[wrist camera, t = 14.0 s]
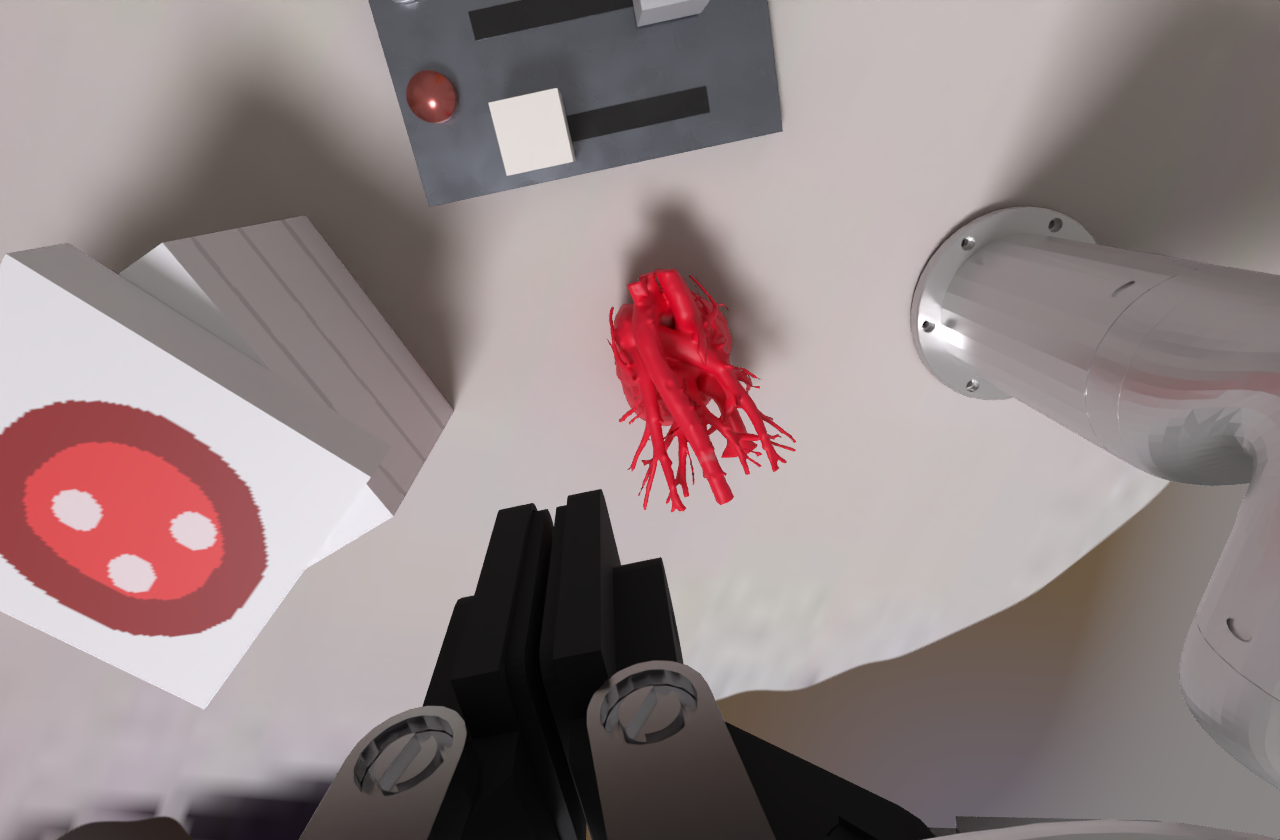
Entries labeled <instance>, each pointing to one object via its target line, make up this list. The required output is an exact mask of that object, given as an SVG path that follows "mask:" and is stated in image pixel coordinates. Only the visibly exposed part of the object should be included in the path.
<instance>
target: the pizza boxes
mask: <svg viewBox="0 0 1280 840" xmlns="http://www.w3.org/2000/svg"><path fill="white" fill-rule="evenodd" d="M453 412H454V410H453V409H452V408H451V406H450V405H449V404H448V402H447V401H446V400H445V398H444V397H443V396H442V394H441V393H440V392H439V390H438V389H437V388H436V386H435V385H434V384H433V383H432V381H431V380H430V379H429V377H428V376H427V375H426V373H425V372H424V371H423V369H422V368H421V367H420V365H419V364H418V363H417V361H416V360H415V359H414V357H413V356H412V355H411V354H410V352H409V351H408V350H407V348H406V347H405V346H404V344H403V343H402V342H401V340H400V339H399V338H398V336H397V335H396V334H395V332H394V331H393V330H392V328H391V327H390V326H389V325H388V323H387V322H386V321H385V319H384V318H383V317H382V315H381V314H380V313H379V311H378V310H377V309H376V307H375V306H374V305H373V303H372V302H371V301H370V299H369V298H368V297H367V295H366V294H365V293H364V292H363V290H362V289H361V288H360V286H359V285H358V284H357V282H356V281H355V280H354V278H353V277H352V276H351V274H350V273H349V272H348V270H347V269H346V268H345V266H344V265H343V264H342V263H341V261H340V260H339V259H338V257H337V256H336V255H335V253H334V252H333V251H332V249H331V248H330V247H329V245H328V244H327V243H326V241H325V240H324V239H323V237H322V236H321V235H320V234H319V232H318V231H317V230H316V228H315V227H314V226H313V224H312V223H311V222H310V220H309V219H308V218H307V216H306V215H303V216H298V217H293V218H288V219H283V220H277V221H272V222H267V223H262V224H257V225H251V226H246V227H241V228H236V229H231V230H225V231H220V232H215V233H210V234H205V235H199V236H194V237H189V238H184V239H179V240H173V241H168V242H163V243H161V244H160V245H158V246H157V247H155V248H154V249H153V250H151V251H150V252H148V253H147V254H145V255H144V256H143V257H141V258H140V259H138V260H137V261H136V262H134V263H133V264H131V265H130V266H128V267H127V268H126V269H124V270H123V271H121V272H120V273H119V274H116V273H115V272H113V271H112V270H110V269H108V268H107V267H105V266H104V265H102V264H101V263H99V262H97V261H96V260H94V259H93V258H91V257H89V256H88V255H86V254H85V253H83V252H81V251H80V250H78V249H77V248H75V247H74V246H72V245H70V244H69V243H65V244H60V245H54V246H48V247H42V248H36V249H30V250H25V251H19V252H13V253H7V254H5V256H4V258H3V260H2V262H1V265H0V611H1V612H3V613H5V614H7V615H9V616H11V617H13V618H16V619H18V620H20V621H22V622H24V623H26V624H28V625H30V626H32V627H34V628H36V629H38V630H40V631H43V632H45V633H47V634H49V635H51V636H53V637H55V638H57V639H59V640H61V641H63V642H65V643H67V644H70V645H72V646H74V647H76V648H78V649H80V650H82V651H84V652H86V653H88V654H90V655H92V656H94V657H96V658H99V659H101V660H103V661H105V662H107V663H109V664H111V665H113V666H115V667H117V668H119V669H121V670H123V671H126V672H128V673H130V674H132V675H134V676H136V677H138V678H140V679H142V680H144V681H146V682H148V683H150V684H153V685H155V686H157V687H159V688H161V689H163V690H165V691H167V692H169V693H171V694H173V695H175V696H177V697H179V698H182V699H184V700H186V701H188V702H190V703H192V704H194V705H196V706H198V707H200V708H202V709H204V710H205V708H206V707H207V705H208V704H209V703H210V701H211V700H212V698H213V697H214V696H215V694H216V693H217V691H218V690H219V689H220V687H221V686H222V684H223V683H224V682H225V680H226V679H227V677H228V676H229V675H230V673H231V672H232V670H233V669H234V668H235V666H236V665H237V663H238V662H239V661H240V659H241V658H242V656H243V655H244V654H245V652H246V651H247V650H248V648H249V647H250V645H251V644H252V643H253V641H254V640H255V638H256V637H257V636H258V634H259V633H260V631H261V630H262V629H263V627H264V626H265V624H266V623H267V622H268V620H269V619H270V617H271V616H272V615H273V613H274V612H275V610H276V609H277V608H278V606H279V605H280V603H281V602H282V601H283V599H284V598H285V596H286V595H287V594H288V592H289V591H290V589H291V588H292V587H293V585H294V584H295V583H296V581H297V580H298V578H299V577H300V576H301V574H302V573H303V571H304V570H305V569H306V568H308V567H310V566H311V565H313V564H315V563H316V562H318V561H320V560H321V559H323V558H325V557H326V556H328V555H330V554H331V553H333V552H335V551H336V550H338V549H340V548H341V547H343V546H345V545H346V544H348V543H350V542H351V541H353V540H355V539H356V538H358V537H360V536H361V535H363V534H365V533H366V532H368V531H370V530H371V529H373V528H375V527H376V526H378V525H380V524H381V523H383V522H385V521H386V520H388V519H390V518H391V517H393V516H394V515H395V513H396V511H397V509H398V508H399V506H400V504H401V502H402V501H403V499H404V497H405V495H406V494H407V492H408V490H409V488H410V487H411V485H412V483H413V482H414V480H415V478H416V476H417V475H418V473H419V471H420V469H421V468H422V466H423V464H424V462H425V461H426V459H427V457H428V455H429V454H430V452H431V450H432V448H433V447H434V445H435V443H436V442H437V440H438V438H439V436H440V435H441V433H442V431H443V429H444V428H445V426H446V424H447V422H448V421H449V419H450V417H451V415H452V414H453Z"/></svg>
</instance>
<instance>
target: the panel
mask: <svg viewBox="0 0 1280 840" xmlns="http://www.w3.org/2000/svg"><path fill="white" fill-rule="evenodd" d="M369 4H370V7H371V11H372V14H373V17H374V21H375V24H376V28H377V31H378V34H379V38H380V41H381V44H382V48H383V51H384V55H385V58H386V61H387V65H388V68H389V72H390V75H391V78H392V82H393V85H394V88H395V92H396V95H397V99H398V102H399V105H400V109H401V112H402V116H403V119H404V122H405V126H406V129H407V133H408V136H409V139H410V143H411V146H412V149H413V153H414V156H415V160H416V163H417V166H418V170H419V173H420V177H421V180H422V183H423V187H424V190H425V193H426V197H427V200H428V204H429V207H431V206H435V205H440V204H445V203H449V202H454V201H459V200H463V199H468V198H473V197H477V196H482V195H487V194H491V193H496V192H501V191H506V190H510V189H515V188H520V187H524V186H529V185H534V184H538V183H543V182H548V181H552V180H557V179H562V178H566V177H571V176H576V175H580V174H585V173H590V172H594V171H599V170H604V169H608V168H613V167H618V166H622V165H627V164H632V163H636V162H641V161H646V160H650V159H655V158H660V157H664V156H669V155H674V154H678V153H683V152H688V151H692V150H697V149H702V148H706V147H711V146H716V145H720V144H725V143H730V142H734V141H739V140H744V139H748V138H753V137H758V136H762V135H767V134H772V133H776V132H781V131H783V130H782V121H781V113H780V104H779V96H778V87H777V79H776V70H775V62H774V53H773V45H772V36H771V28H770V19H769V11H768V2H767V0H710V1H709V2H708V4H707V5H706V6H705V8H704V9H703V11H702V12H701V13H699V14H694V15H690V16H685V17H681V18H676V19H671V20H667V21H662V22H658V23H653V24H649V25H644V26H639V27H637V22H636V16H635V11H634V5H633V0H369ZM554 88H558V90H559V92H560V93H561V95H562V99H563V104H564V108H565V113H566V118H567V122H568V127H569V131H570V136H571V140H572V145H573V150H574V154H575V159H576V161H575V162H570V163H566V164H561V165H556V166H552V167H547V168H542V169H538V170H533V171H528V172H524V173H519V174H514V175H509V176H507V175H506V171H505V167H504V163H503V159H502V155H501V151H500V147H499V143H498V139H497V135H496V131H495V127H494V123H493V119H492V116H491V112H490V108H489V104H488V103H489V102H494V101H499V100H503V99H508V98H512V97H517V96H522V95H526V94H531V93H536V92H540V91H545V90H549V89H554Z"/></svg>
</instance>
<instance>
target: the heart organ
mask: <svg viewBox="0 0 1280 840" xmlns="http://www.w3.org/2000/svg"><path fill="white" fill-rule="evenodd" d="M655 275H656V277H657V278H658V280H659V283H660V284H658V283H657V281H656V279H655ZM689 277H690V278H691V279H693V281H695V282H696V283H697V285H698V286H699V287H700V288H701V289H702V291H704V293H705V294H706V295H707V296H708V298H709V299H710V301H711V302H712V303H710V302H709V301H707V300H705V299H704V298H702V297H700V295H699V294H698V295H699V296H698V295H696V294H695V293H694V292H693V291H691V290H690V289H689V288H688V286H687V284H686V283H685V281H684V279H683V278H682V276H681V275H680V274H679V272H678V271H677V269H655V270H653V272H647V273H644V274H642V275H640V276H639V281H635V282H631V283H629V284H627V287H628V289H629V292H630V295H631V296H632V298H633V303H634V304H623V305H622V306H621V308H620V310H619V312H618V313H617V315H616V317H615V320H614V325H613V321H612V314H613V309H614V307H612V308H611V310H610V314H609V322H610V326H611V336H612V346H611V347H612V349H613V352H614V357H615V364H616V373H617V376H618V378H619V379H620V381H621V383H622V386H623V391H624V394H625V396H626V399H627V401H628V404H629V405H630V407H631V408H632V409H631V410H629V411H628V412H627V413H626V414H624V415H623V417H622V418H621V419H619V422H622V421H625V419H626V418H627V417H628V416H629V415H631V414H632V413H633V412H635V413H636V414H637V416H636V417H634V418H633V419H632V420H631V421H630V422H629V424H631V422H632V423H633V422H634V420H635V419H636V418H639V417H640V418H641V419H643V420H644V421H646V427H645V431H644V434H643V438H642V440H641V443H640V445H639V447H638V450H637V451H636V454H635V456H634V459H633V462H632V464H631V467H630V468H631V469H632V471H633V470H634V469H635V466H636V462H637V459H638V457H639V455H640V453H641V451H642V450H643V448H644V447H645V445H646V443H647V441H648V440H650V439H649V436H650V435H651V440H652V444H653V458H652V459H651V460H647V461H645V460H642V462H643V463H644V465H646V464H649V469H648V471H647V473H646V476H645V479H644V481H643V484H642V488H641V490H642V489H643V486H644V485H645V483H646V481H647V479H648V477H649V479H648V483H647V486H646V494H645V499H644V504H643V507H644V510H646V506H647V502H648V497H649V492H650V490H651V486H652V482H653V478H654V475H655V471H656V466H657V461H658V460H660V462H661V465H662V468H663V471H664V474H665V477H666V480H667V483H668V486H669V490H670V493H669V496H668V498H667V501H666V503H669V501H670V498H671V501H672V509H671V512H673V511H675V509H678V510H679V511H684V510H685V509H686V507H685V506H684V505H683V504H682V502H681V500H680V498H679V495H678V494H677V489H676V486H677V485H678V484H681V486H682V489H683V494H684V497H688V496H689V492H688V487H687V483H686V457H687V454H688V455H689V451H688V447H687V442H689V443H690V445H691V447H692V449H693V451H694V452H695V455H696V456H697V458H698V461H699V463H700V465H701V467H702V469H703V470H702V471H703V477H704V478H707V480H708V482H709V484H710V487H711V489H712V492H713V494H714V496H715V499H716V502H717V503H719V504H720V505H722V504H724V503H727V502H729V501H731V500H732V499H733V497H734V496H733V494H732V492H731V489H730V487H729V485H728V484H727V482H726V479H725V477H724V475H725V476H726V473H725V472H723V470H722V469H721V467H720V465H719V463H718V460H717V457H716V455H715V452H714V447H713V445H712V442H711V441H710V439H709V436H708V435H710V434H712V433H713V432H714V431H715V430H716V429H717V430H718V431H719V432H720V433H721V434H722V435H723V436H724V437H725V438H726V439H727V446H726V448H725V450H724V452H723V455H722V458H724V457H725V458H726V457H728V458H729V457H737V456H738V457H739V459H740V462H741V464H742V466H743V468H744V471H745V474H747V475H748V474H750V472H749V468H748V465H747V462H746V459H749V460H750V461H752V462H753V463H754V464H756V465H757V466H759V467H761V465H760V464H759V463H757V462H755V461H754V460H752V459H751V458H749V457H748V456H747V454H748V453H749V452H753V453H755V454H756V455H757V456H759V455H762V454H761V453H760V452H754V451H752V450H753V449H755V448H756V447H757V444H755V443H754V442H752V441H758V440H761V443H762V448H763V449H764V450H765V451H766V453H767V456H768V458H769V460H770V463H771V466H772V470H773V472H775V471H776V470H778V469H779V467H778V465H777V460H780V461H781V462H783V463H786V461H785V459H783V458H781V457H780V456H779V455H778V454H777V453H776V451H775V449H774V447H773V446H772V444H773V445H775V446H779V447H782V448H784V449H788V450H791V451H796V450H795V449H793V448H790V447H788V446H784V445H780V444H778V443H775V442H772V441H770V439H775V438H776V437H781V436H779V435H778V434H777V435H774V436H771V435H769V434H767V431H766V428H765V426H764V423H763V420H764V421H766V422H768V423H769V424H771V425H772V426H773V427H775V428H776V429H778V430H779V431H780V432H781V433H783V434H785V435H787V436H788V437H789V438H790V439H792V440H793V442H794V443H795V442H796V441H795V440H794V439H793V437H792V436H791V435H790V434H788V433H787V432H786V431H784V430H783V429H782V428H781V427H779V426H778V425H777V424H775V423H774V422H773V421H771V420H773V418H771V417H768V416H765V415H764V414H763V413H761V412H760V411H759V410H758V409H757V407H756V405H755V403H754V402H753V400H752V399H751V397H750V396H749V395H748V390H750V387H755V388H760V386H752V382H751V378H750V376H749V375H751V376H752V377H753V378H757V377H756V376H755V375H754V374H752V373H751V372H749V371H748V370H746V369H744V368H742V367H740V368H738V367H734V366H733V365H731V364H730V362H729V355H730V352H731V346H732V337H731V334H730V331H729V328H728V323H727V321H726V318H725V317H724V315H723V314H722V313H721V312H720V311H719V310H718V308H719V306H725V305H724V304H723V303H720V304H717V303H716V302H715V301H714V299H713V298H712V297H711V296H710V294H709V293H708V292H707V291H706V290H705V289H704V288H703V287H702V286H701V285H700V284H699V282H698V281H697V280H696V279H694V278H693V277H692V276H690V275H689ZM660 285H661V286H660ZM695 286H696V285H695ZM697 293H698V292H697ZM725 307H726V306H725ZM726 308H727V307H726ZM727 310H728V309H727ZM607 340H608V339H607ZM608 342H609V341H608ZM615 342H616V344H615ZM609 344H610V345H611V343H610V342H609ZM741 369H742V371H740V370H741ZM747 375H748V376H749V378H748V377H747ZM758 379H759V378H758ZM738 380H739V381H743V382H744V383H745V384H746V385H747V387H746V390H745V389H744V388H743V386H742V385H741V384H740V383H739V381H738ZM711 399H713V400H714V401H715V402H716V404H717V405H718V407H719V410H720V412H721V416H720V418H717V417H716V416H714V415H713V414H712V413H711V412H710V411H709V410H708V409H707V407H706V405H707V404H708V403H709V402H710V400H711ZM737 408H742V409H743V410H744V411H745V412H746V413H747V415H748V416H749V418H750V420H751V421H752V423H753V425H754V427H755V430H756V432H757V434H758V435H755V434H749V433H747V431H746V428H745V425H744V423H743V421H742V419H741V417H740V415H739V412H738V410H737ZM770 419H771V420H770ZM707 424H710V425H712V426H711V428H710V429H709V430H707V426H706V425H707ZM661 425H663V426H669V425H672V426H671V428H670V430H669V432H668V433H667V436H666V437H664V438H663V435H662V427H661ZM675 436H677V437H678V442H679V452H678V455H679V467H678V471H677V476H676V479H675V478H674V475H673V470H672V468H671V465H672V461H671V460H670V459H669V457H668V455H667V452H666V451H667V449H668V447H669V446H670V444H671V442H672V440H673V438H674V437H675ZM664 439H665V441H664ZM689 458H690V455H689ZM690 465H691V468H692V475H693V485H694V472H693V466H692V461H691V458H690ZM630 468H629V469H630ZM629 469H627V470H629ZM649 474H650V476H649ZM640 492H641V491H640ZM639 495H640V493H639ZM639 495H638V496H639Z"/></svg>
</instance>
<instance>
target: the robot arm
mask: <svg viewBox="0 0 1280 840" xmlns="http://www.w3.org/2000/svg"><path fill="white" fill-rule="evenodd" d="M1049 223H1050V225H1049ZM1048 226H1049V227H1048ZM963 239H964V240H965V242H964V244H963V245H962V246H961V243H962V241H963ZM925 321H926V324H925V325H924V326H923V327H922V324H923V323H924V322H925ZM911 331H912V336H913V341H914V345H915V348H916V350H917V352H918V355H919V357H920V359H921V361H922V363H923V364H924V365H925V367H926V368H927V369H928V371H929V372H930V373H931V374H932V375H933V376H934V377H935V378H937V379H938V380H939V381H940V382H941V383H943V384H944V385H946V386H947V387H949V388H951V389H952V390H954V391H955V392H958V393H960V394H962V395H965V396H967V397H971V398H977V399H983V400H1005V399H1010V398H1015V399H1017V400H1019V401H1021V402H1022V403H1024V404H1026V405H1027V406H1029V407H1031V408H1033V409H1034V410H1036V411H1038V412H1040V413H1041V414H1043V415H1045V416H1047V417H1048V418H1050V419H1052V420H1053V421H1055V422H1057V423H1059V424H1060V425H1062V426H1064V427H1066V428H1067V429H1069V430H1071V431H1073V432H1074V433H1076V434H1078V435H1079V436H1081V437H1083V438H1085V439H1086V440H1088V441H1090V442H1092V443H1093V444H1095V445H1097V446H1099V447H1100V448H1102V449H1104V450H1105V451H1107V452H1109V453H1111V454H1112V455H1114V456H1116V457H1118V458H1119V459H1122V460H1123V461H1125V462H1127V463H1129V464H1130V465H1132V466H1134V467H1136V468H1138V469H1140V470H1142V471H1144V472H1146V473H1148V474H1151V475H1153V476H1156V477H1159V478H1162V479H1166V480H1169V481H1173V482H1177V483H1185V484H1193V485H1203V486H1219V485H1237V484H1246V483H1250V484H1249V487H1248V490H1247V492H1246V495H1245V497H1244V499H1243V502H1242V504H1241V507H1240V509H1239V511H1238V514H1237V521H1236V523H1235V525H1234V527H1233V530H1232V532H1231V534H1230V536H1229V539H1228V541H1227V543H1226V546H1225V548H1224V550H1223V553H1222V555H1221V557H1220V559H1219V561H1218V564H1217V566H1216V568H1215V571H1214V573H1213V575H1212V577H1211V579H1210V582H1209V584H1208V586H1207V589H1206V591H1205V593H1204V595H1203V598H1202V600H1201V602H1200V604H1199V607H1198V609H1197V613H1196V615H1195V618H1194V620H1193V622H1192V625H1191V627H1190V629H1189V632H1188V635H1187V637H1186V640H1185V643H1184V646H1183V649H1182V653H1181V658H1180V665H1179V680H1180V687H1181V692H1182V695H1183V697H1184V700H1185V702H1186V704H1187V707H1188V709H1189V711H1190V712H1191V714H1192V715H1193V716H1194V718H1195V719H1196V721H1197V722H1198V724H1199V725H1200V726H1201V728H1202V729H1203V730H1204V731H1205V732H1206V733H1207V734H1208V735H1209V736H1210V737H1211V738H1212V739H1213V740H1214V741H1215V743H1216V744H1217V745H1219V746H1220V747H1221V748H1222V749H1224V751H1226V752H1227V753H1228V754H1229V755H1230V756H1231V757H1233V758H1234V759H1235V760H1236V761H1237V762H1239V763H1240V764H1241V765H1243V766H1244V767H1246V768H1247V769H1248V770H1250V771H1251V772H1252V773H1254V774H1255V775H1256V776H1258V777H1259V778H1261V779H1263V780H1264V781H1266V782H1267V783H1269V784H1270V785H1272V786H1273V787H1275V788H1276V789H1278V790H1279V791H1280V275H1274V274H1269V273H1263V272H1257V271H1251V270H1245V269H1239V268H1233V267H1225V266H1219V265H1213V264H1207V263H1202V262H1196V261H1190V260H1184V259H1178V258H1173V257H1167V256H1161V255H1155V254H1150V253H1144V252H1138V251H1132V250H1126V249H1121V248H1115V247H1109V246H1103V245H1098V244H1097V243H1096V241H1095V239H1094V238H1093V236H1092V235H1091V234H1090V233H1089V232H1088V231H1087V230H1086V229H1085V228H1084V227H1083V226H1082V225H1081V224H1080V223H1079V222H1077V221H1076V220H1074V219H1072V218H1071V217H1069V216H1067V215H1066V214H1063V213H1060V212H1057V211H1054V210H1051V209H1047V208H1039V207H1009V208H1005V209H1000V210H995V211H992V212H990V213H987V214H985V215H983V216H980V217H978V218H976V219H974V220H972V221H971V222H969V223H968V224H966V225H964V226H963V227H961V228H960V229H958V230H957V231H956V232H955V233H954V234H953V235H952V236H950V237H949V238H948V239H947V240H946V241H945V242H944V243H943V244H942V245H941V246H940V248H939V249H938V250H937V251H936V252H935V254H934V255H933V256H932V257H931V259H930V260H929V262H928V264H927V266H926V267H925V269H924V271H923V273H922V274H921V276H920V279H919V282H918V285H917V287H916V290H915V293H914V297H913V303H912V309H911ZM968 382H969V383H968ZM967 383H968V384H967ZM586 822H587V825H588V828H589V832H590V835H591V838H592V840H1280V839H1276V838H1271V837H1267V836H1263V835H1258V834H1251V833H1245V832H1238V831H1232V830H1225V829H1218V828H1212V827H1205V826H1199V825H1192V824H1185V823H1177V822H1176V823H1175V822H1161V821H1148V820H1107V819H1106V820H1105V819H1103V820H1102V819H1059V818H1057V819H1056V818H1017V817H974V816H956V828H932V827H927V826H926V825H925V824H924V823H923V822H922V821H921V820H920V819H919V818H917V817H916V816H914V815H913V814H911V813H910V812H908V811H907V810H904V809H903V808H902V807H900V806H899V805H897V804H894V803H892V802H890V801H888V800H886V799H884V798H882V797H880V796H878V795H876V794H874V793H872V792H869V791H868V790H866V789H863V788H861V787H859V786H857V785H855V784H853V783H851V782H849V781H847V780H845V779H843V778H841V777H838V776H837V775H834V774H832V773H830V772H828V771H826V770H824V769H822V768H820V767H818V766H816V765H814V764H812V763H810V762H808V761H805V760H803V759H801V758H799V757H797V756H795V755H793V754H791V753H789V752H787V751H785V750H783V749H781V748H778V747H776V746H775V745H772V744H770V743H768V742H766V741H764V740H762V739H760V738H758V737H756V736H754V735H752V734H750V733H748V732H745V731H743V730H741V729H739V728H737V727H735V726H733V725H731V724H729V723H727V722H725V721H724V719H723V717H722V715H721V712H720V710H719V708H718V706H717V703H716V701H715V699H714V696H713V694H712V692H711V690H710V687H709V685H708V684H707V682H706V681H705V680H704V678H703V677H702V675H701V674H700V673H698V672H697V671H695V670H694V669H692V668H691V667H689V666H688V665H684V664H683V659H682V653H681V647H680V642H679V636H678V631H677V626H676V621H675V616H674V611H673V606H672V602H671V597H670V592H669V588H668V583H667V579H666V574H665V570H664V565H663V561H662V558H661V557H660V558H656V559H651V560H646V561H641V562H636V563H631V564H626V565H621V563H620V559H619V555H618V551H617V547H616V543H615V539H614V534H613V530H612V526H611V522H610V518H609V514H608V510H607V506H606V502H605V498H604V495H603V492H602V490H601V489H599V490H594V491H589V492H584V493H579V494H575V495H570V496H568V498H567V505H565V506H560V507H557V508H556V516H555V524H554V526H553V522H552V519H551V515H550V513H549V511H548V509H545V510H541V511H537V508H536V506H535V505H534V504H533V503H531V504H526V505H521V506H516V507H511V508H506V509H502V510H499V512H498V514H497V518H496V521H495V525H494V528H493V532H492V535H491V539H490V542H489V546H488V549H487V553H486V556H485V560H484V563H483V567H482V570H481V574H480V577H479V581H478V584H477V588H476V591H475V595H474V596H469V597H464V598H461V599H459V600H458V601H457V603H456V605H455V607H454V610H453V613H452V616H451V620H450V623H449V626H448V629H447V632H446V635H445V638H444V641H443V644H442V648H441V651H440V654H439V657H438V660H437V663H436V666H435V669H434V672H433V676H432V679H431V682H430V685H429V688H428V691H427V694H426V697H425V700H424V704H423V707H419V708H414V709H410V710H407V711H405V712H403V713H400V714H398V715H395V716H393V717H391V718H389V719H388V720H386V721H384V722H383V723H381V724H380V725H378V726H377V727H375V728H373V729H372V730H371V731H370V732H369V733H368V734H367V735H366V736H365V737H364V738H362V739H361V740H360V741H359V742H358V743H357V745H356V746H355V747H354V749H353V750H352V751H351V753H350V754H349V755H348V757H347V758H346V760H345V761H344V763H343V765H342V767H341V768H340V770H339V772H338V773H337V775H336V777H335V779H334V780H333V782H332V784H331V785H330V787H329V789H328V791H327V792H326V794H325V796H324V797H323V799H322V801H321V803H320V804H319V806H318V808H317V809H316V811H315V813H314V815H313V816H312V818H311V820H310V822H309V823H308V825H307V827H306V828H305V830H304V832H303V834H302V835H301V837H300V839H299V840H586Z"/></svg>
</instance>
